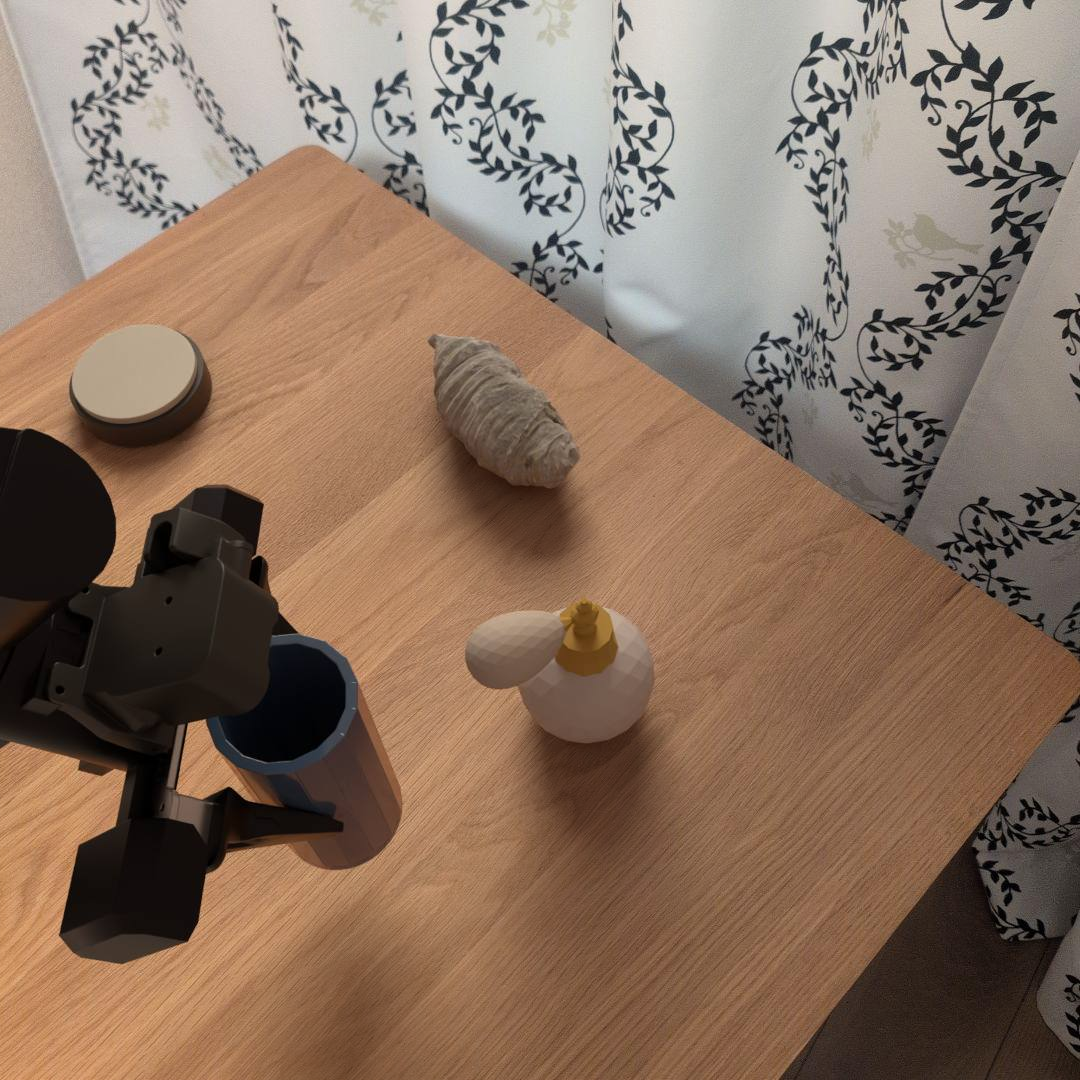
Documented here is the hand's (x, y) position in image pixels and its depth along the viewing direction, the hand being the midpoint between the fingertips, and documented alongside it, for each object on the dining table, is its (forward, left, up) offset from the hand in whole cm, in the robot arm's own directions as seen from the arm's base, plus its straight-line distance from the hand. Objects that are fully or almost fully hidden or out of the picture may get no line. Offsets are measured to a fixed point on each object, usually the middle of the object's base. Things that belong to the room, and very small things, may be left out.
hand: (345, 760), depth 51 cm
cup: (-1, +1, -7) cm, 7 cm away
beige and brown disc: (-4, +37, -12) cm, 39 cm away
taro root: (+16, +22, -13) cm, 30 cm away
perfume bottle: (+12, +3, -13) cm, 18 cm away
